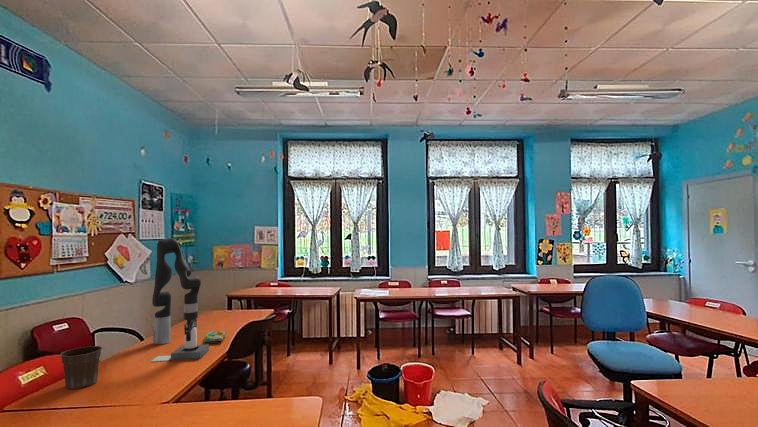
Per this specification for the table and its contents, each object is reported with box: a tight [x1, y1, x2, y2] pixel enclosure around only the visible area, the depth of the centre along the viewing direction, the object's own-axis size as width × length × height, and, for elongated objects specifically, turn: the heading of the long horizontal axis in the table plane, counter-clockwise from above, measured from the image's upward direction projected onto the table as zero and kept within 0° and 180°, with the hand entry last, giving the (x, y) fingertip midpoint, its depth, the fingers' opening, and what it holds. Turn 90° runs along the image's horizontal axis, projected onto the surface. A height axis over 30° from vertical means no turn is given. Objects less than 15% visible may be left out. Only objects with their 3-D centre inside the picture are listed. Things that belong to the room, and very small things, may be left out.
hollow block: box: [170, 343, 210, 362], centre depth 234 cm, size 16×16×4 cm
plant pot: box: [59, 345, 103, 390], centre depth 191 cm, size 16×16×16 cm
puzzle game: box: [202, 330, 227, 344], centre depth 266 cm, size 12×5×20 cm
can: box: [184, 326, 198, 349], centre depth 234 cm, size 6×6×12 cm
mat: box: [150, 355, 171, 363], centre depth 228 cm, size 9×9×1 cm
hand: (190, 339), depth 234 cm, fingers closed on can, 6 cm apart
